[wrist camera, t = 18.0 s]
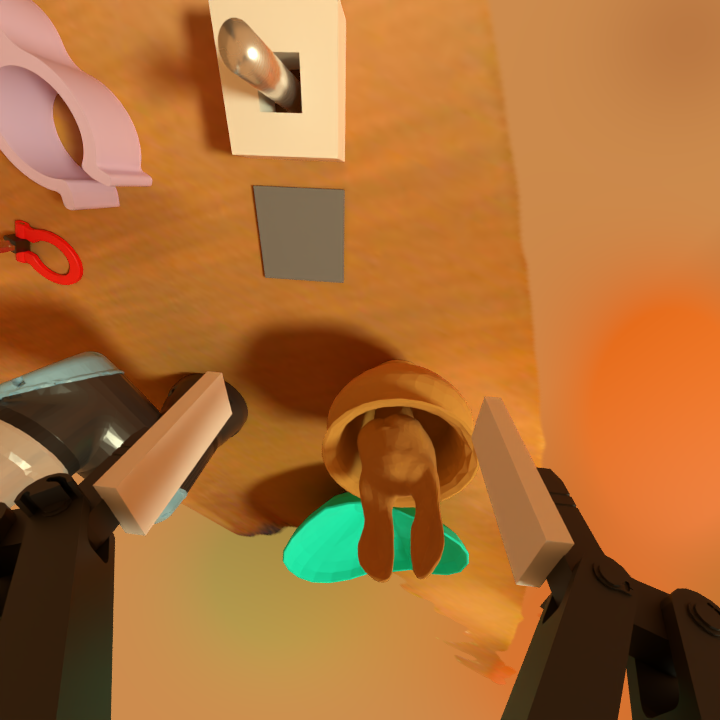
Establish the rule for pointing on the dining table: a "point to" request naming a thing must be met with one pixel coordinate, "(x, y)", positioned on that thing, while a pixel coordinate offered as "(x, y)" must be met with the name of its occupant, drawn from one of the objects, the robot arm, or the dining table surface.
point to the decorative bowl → (400, 457)
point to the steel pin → (258, 64)
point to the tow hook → (21, 247)
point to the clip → (35, 115)
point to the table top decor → (356, 543)
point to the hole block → (297, 52)
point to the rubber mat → (301, 232)
